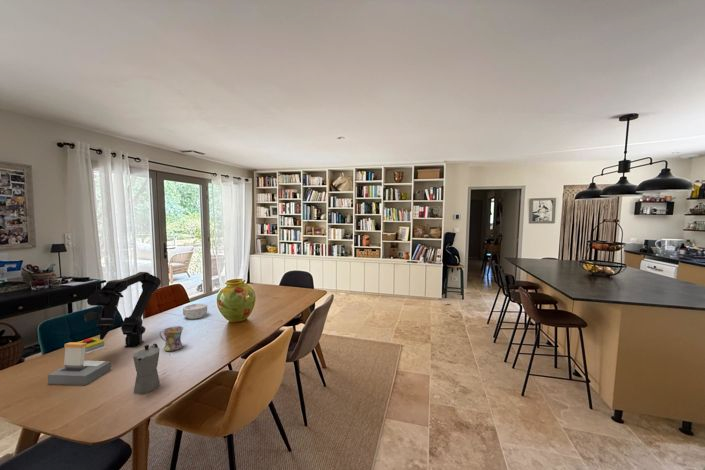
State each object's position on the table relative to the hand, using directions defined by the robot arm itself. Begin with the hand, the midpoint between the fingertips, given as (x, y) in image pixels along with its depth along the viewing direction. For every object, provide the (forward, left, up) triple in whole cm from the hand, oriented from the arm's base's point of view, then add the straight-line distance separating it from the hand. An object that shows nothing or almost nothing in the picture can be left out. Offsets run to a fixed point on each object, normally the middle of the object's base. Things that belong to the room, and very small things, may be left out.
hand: (101, 339), depth 135 cm
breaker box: (+1, +13, -11) cm, 17 cm away
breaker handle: (+3, +13, -6) cm, 15 cm away
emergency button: (+16, -20, -12) cm, 28 cm away
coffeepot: (-30, +26, -12) cm, 41 cm away
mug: (-26, -10, -12) cm, 30 cm away
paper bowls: (-24, -61, -12) cm, 67 cm away
